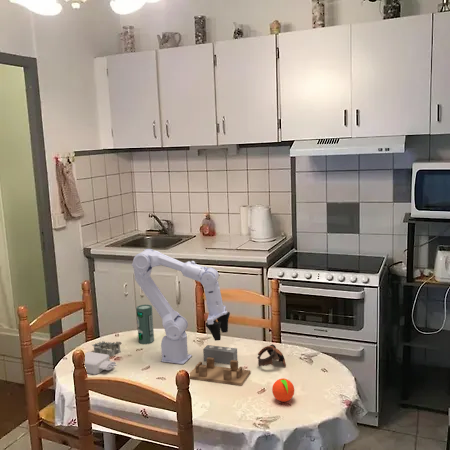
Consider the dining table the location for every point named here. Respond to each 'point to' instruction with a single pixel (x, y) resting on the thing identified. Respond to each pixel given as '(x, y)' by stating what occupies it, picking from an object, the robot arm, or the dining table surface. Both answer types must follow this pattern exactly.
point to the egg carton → (108, 345)
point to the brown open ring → (273, 354)
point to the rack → (220, 373)
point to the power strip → (220, 354)
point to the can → (145, 324)
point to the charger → (97, 362)
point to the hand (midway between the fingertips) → (221, 336)
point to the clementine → (283, 390)
